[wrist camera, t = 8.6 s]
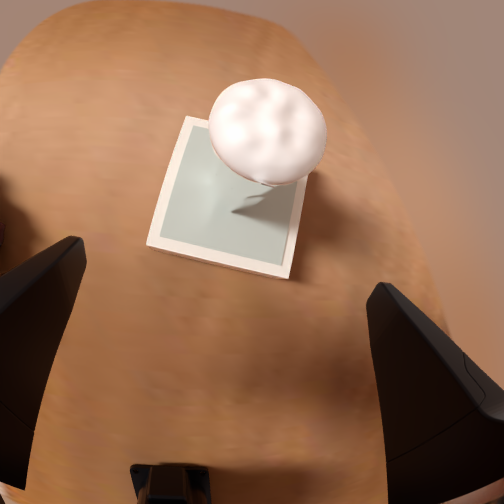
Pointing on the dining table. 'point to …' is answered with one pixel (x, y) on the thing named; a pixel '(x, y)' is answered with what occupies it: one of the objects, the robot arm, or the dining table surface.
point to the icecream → (1, 232)
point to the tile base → (222, 215)
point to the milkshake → (262, 141)
